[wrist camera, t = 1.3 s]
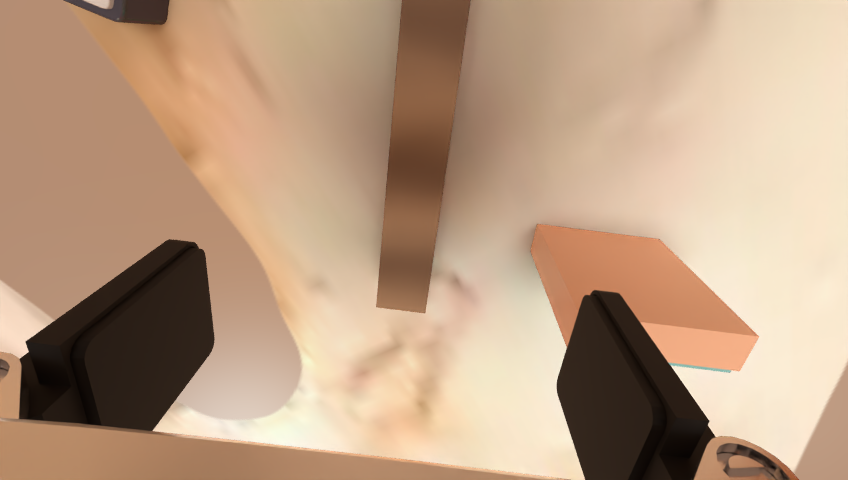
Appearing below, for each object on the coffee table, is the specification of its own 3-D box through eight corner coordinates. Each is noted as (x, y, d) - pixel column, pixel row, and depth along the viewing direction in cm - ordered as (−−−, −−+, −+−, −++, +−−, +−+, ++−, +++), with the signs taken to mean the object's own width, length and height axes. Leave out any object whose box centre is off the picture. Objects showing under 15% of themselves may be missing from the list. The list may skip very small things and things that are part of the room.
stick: (412, -28, 23) (405, -41, 19) (469, -20, 23) (475, -32, 19) (385, 270, 30) (376, 307, 26) (427, 275, 30) (425, 313, 26)
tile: (537, 224, 28) (579, 314, 19) (659, 239, 28) (759, 336, 19) (529, 255, 29) (566, 355, 20) (647, 269, 29) (737, 376, 20)
